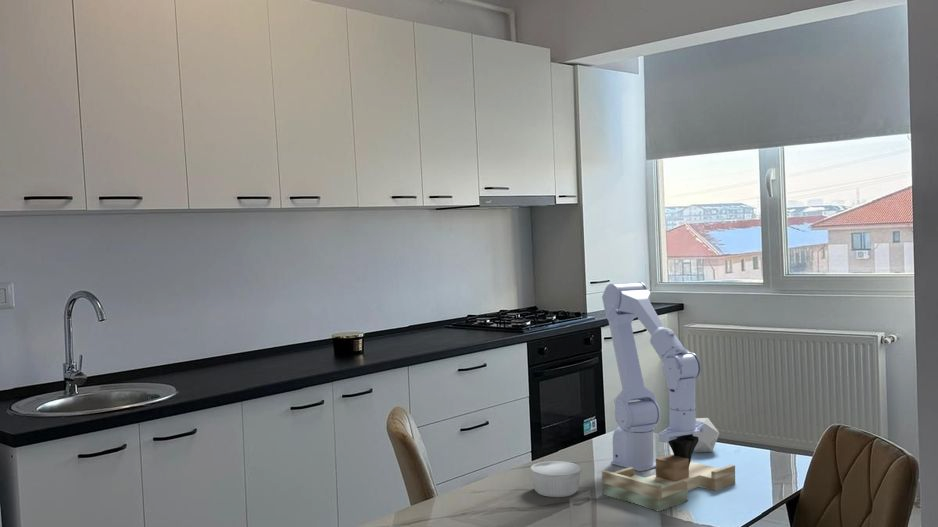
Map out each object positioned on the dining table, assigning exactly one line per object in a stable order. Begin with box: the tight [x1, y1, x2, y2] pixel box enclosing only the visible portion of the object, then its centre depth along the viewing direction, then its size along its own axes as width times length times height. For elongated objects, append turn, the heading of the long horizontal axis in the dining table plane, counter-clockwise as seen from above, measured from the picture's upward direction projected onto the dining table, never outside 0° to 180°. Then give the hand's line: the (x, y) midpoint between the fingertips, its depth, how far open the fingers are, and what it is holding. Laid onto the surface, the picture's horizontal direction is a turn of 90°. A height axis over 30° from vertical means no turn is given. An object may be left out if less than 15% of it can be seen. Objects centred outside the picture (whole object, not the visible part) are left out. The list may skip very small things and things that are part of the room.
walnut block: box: [655, 453, 689, 482], centre depth 180 cm, size 5×5×4 cm
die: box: [693, 417, 720, 453], centre depth 210 cm, size 8×9×10 cm
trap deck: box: [601, 453, 736, 512], centre depth 179 cm, size 15×27×5 cm, turn 129°
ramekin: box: [529, 460, 582, 498], centre depth 180 cm, size 11×11×5 cm
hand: (683, 468), depth 182 cm, fingers closed
